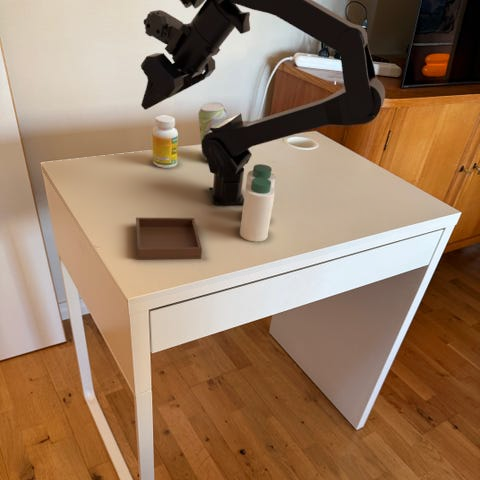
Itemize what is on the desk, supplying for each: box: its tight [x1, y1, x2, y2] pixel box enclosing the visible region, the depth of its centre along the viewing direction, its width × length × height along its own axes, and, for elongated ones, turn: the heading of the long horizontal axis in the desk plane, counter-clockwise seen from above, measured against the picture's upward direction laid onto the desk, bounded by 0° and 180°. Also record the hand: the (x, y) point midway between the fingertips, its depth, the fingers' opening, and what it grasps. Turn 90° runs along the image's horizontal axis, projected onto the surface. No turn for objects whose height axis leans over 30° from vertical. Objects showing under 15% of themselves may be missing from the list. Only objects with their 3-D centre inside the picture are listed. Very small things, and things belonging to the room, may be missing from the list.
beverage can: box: [198, 102, 228, 161], centre depth 101 cm, size 6×7×12 cm
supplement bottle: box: [151, 114, 179, 169], centre depth 97 cm, size 5×5×10 cm
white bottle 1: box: [245, 163, 276, 189], centre depth 83 cm, size 5×5×10 cm
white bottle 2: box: [239, 177, 276, 243], centre depth 78 cm, size 5×5×10 cm
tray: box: [135, 217, 203, 260], centre depth 76 cm, size 10×10×2 cm
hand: (155, 101), depth 84 cm, fingers open, 9 cm apart
